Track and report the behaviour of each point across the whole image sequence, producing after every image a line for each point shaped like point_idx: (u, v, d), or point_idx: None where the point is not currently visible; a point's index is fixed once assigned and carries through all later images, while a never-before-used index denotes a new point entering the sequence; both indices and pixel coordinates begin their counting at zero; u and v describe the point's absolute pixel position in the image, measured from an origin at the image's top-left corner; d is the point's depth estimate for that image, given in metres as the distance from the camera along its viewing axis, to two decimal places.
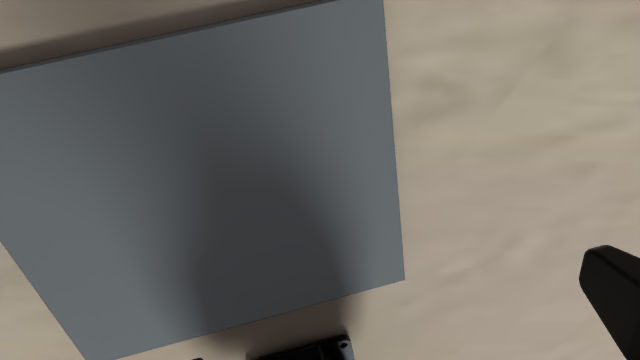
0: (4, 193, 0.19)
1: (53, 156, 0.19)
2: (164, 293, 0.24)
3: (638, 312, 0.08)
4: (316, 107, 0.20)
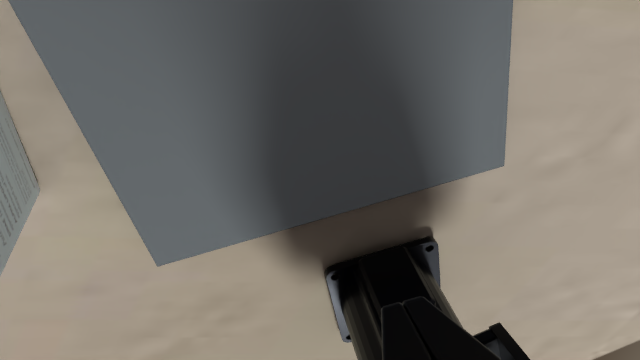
0: (68, 30, 0.16)
1: None
2: (242, 174, 0.21)
3: None
4: None
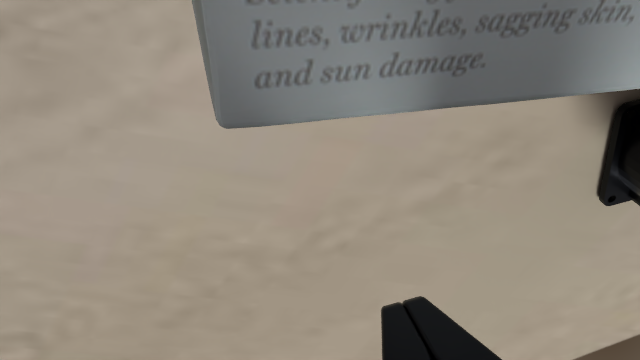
0: None
1: None
2: None
3: None
4: None
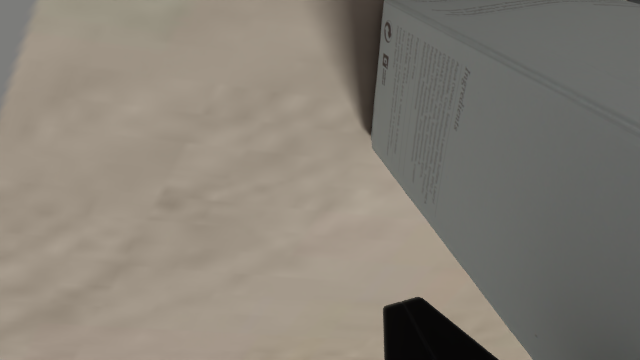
0: None
1: None
2: None
3: None
4: None
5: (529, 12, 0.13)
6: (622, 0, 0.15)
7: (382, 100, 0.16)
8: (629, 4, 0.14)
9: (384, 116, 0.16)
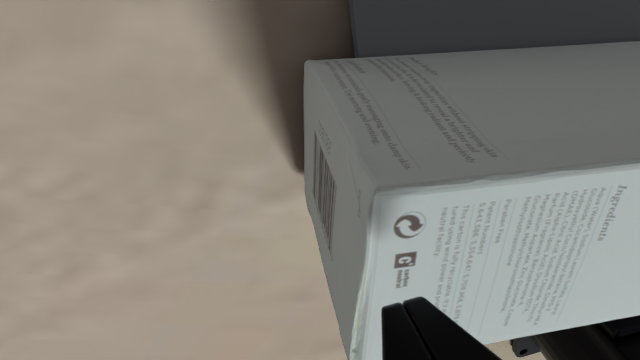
0: (394, 27, 0.16)
1: None
2: None
3: None
4: None
5: (475, 108, 0.12)
6: (371, 58, 0.15)
7: None
8: (403, 61, 0.15)
9: None
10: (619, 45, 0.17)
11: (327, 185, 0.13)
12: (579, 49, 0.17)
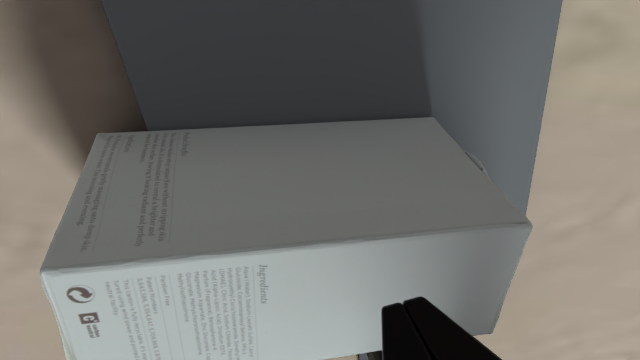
0: (174, 107, 0.19)
1: (230, 69, 0.18)
2: None
3: None
4: (486, 36, 0.20)
5: (186, 192, 0.15)
6: (153, 133, 0.19)
7: (101, 349, 0.14)
8: (175, 138, 0.18)
9: (115, 357, 0.14)
10: (379, 124, 0.20)
11: None
12: (339, 127, 0.20)
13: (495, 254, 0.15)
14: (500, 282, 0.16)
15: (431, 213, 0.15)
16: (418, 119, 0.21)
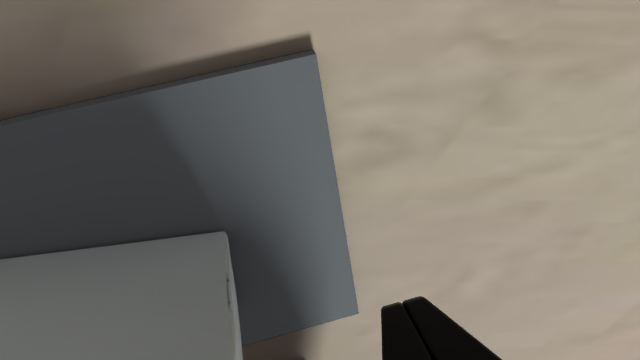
0: None
1: (1, 211, 0.20)
2: None
3: None
4: (258, 160, 0.21)
5: None
6: None
7: None
8: None
9: None
10: (162, 245, 0.21)
11: None
12: (119, 253, 0.21)
13: None
14: None
15: None
16: (206, 236, 0.22)
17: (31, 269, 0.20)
